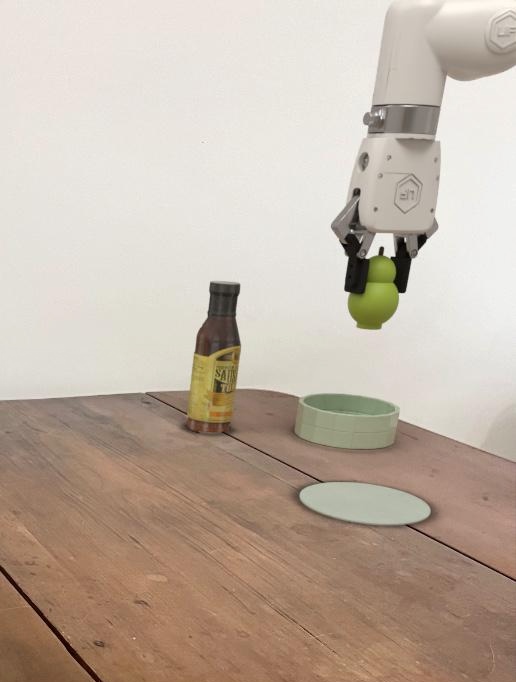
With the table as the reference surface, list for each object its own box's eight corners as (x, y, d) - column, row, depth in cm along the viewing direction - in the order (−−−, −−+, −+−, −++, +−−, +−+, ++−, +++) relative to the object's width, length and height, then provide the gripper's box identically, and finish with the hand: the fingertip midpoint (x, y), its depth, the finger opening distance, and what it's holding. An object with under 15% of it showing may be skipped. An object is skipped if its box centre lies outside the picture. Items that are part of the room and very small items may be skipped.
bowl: (372, 428, 133) (378, 394, 131) (408, 454, 121) (415, 417, 119) (282, 427, 132) (287, 392, 130) (310, 453, 120) (316, 415, 118)
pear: (383, 324, 117) (397, 245, 113) (401, 332, 111) (416, 248, 107) (337, 323, 116) (349, 243, 112) (352, 331, 111) (366, 247, 107)
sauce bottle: (213, 439, 125) (230, 285, 116) (176, 429, 129) (189, 280, 120) (240, 431, 129) (257, 282, 121) (203, 422, 133) (217, 278, 125)
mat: (399, 485, 109) (400, 482, 109) (452, 527, 96) (453, 524, 96) (284, 484, 108) (284, 481, 107) (321, 526, 95) (322, 523, 95)
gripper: (363, 121, 98) (336, 297, 106) (484, 128, 104) (451, 295, 112) (320, 123, 104) (298, 289, 112) (437, 130, 111) (408, 287, 118)
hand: (374, 290), depth 112 cm, fingers closed on pear, 5 cm apart
